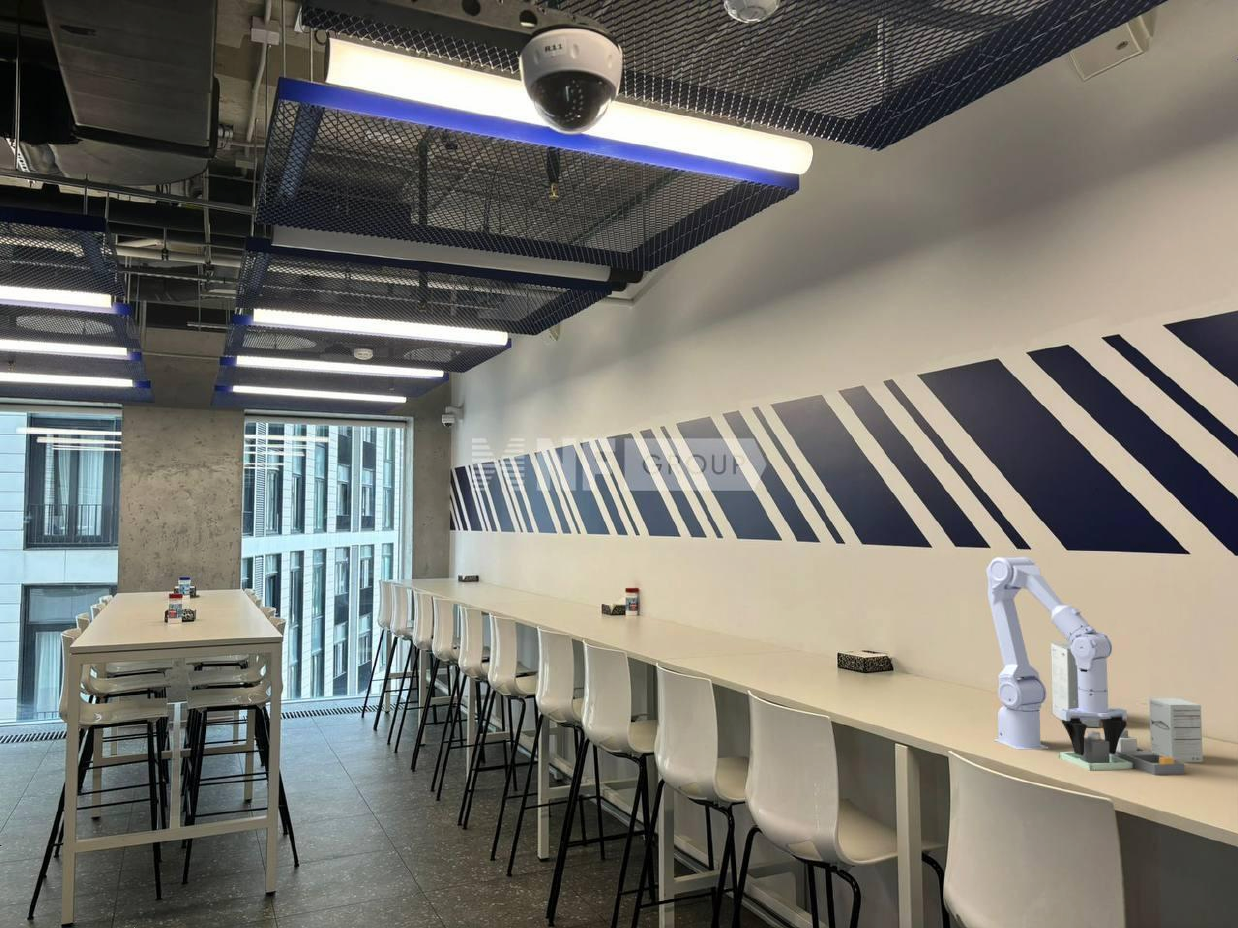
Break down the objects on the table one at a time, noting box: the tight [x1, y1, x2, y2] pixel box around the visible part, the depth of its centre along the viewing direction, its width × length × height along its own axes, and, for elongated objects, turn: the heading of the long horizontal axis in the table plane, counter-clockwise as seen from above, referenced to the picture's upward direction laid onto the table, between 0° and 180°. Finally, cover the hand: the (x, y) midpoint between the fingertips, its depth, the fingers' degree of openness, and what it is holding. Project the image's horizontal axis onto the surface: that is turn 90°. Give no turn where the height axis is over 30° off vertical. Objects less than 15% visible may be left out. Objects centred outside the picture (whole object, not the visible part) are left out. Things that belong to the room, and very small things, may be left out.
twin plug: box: [1116, 728, 1138, 752], centre depth 196 cm, size 4×4×6 cm
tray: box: [1058, 751, 1134, 771], centre depth 191 cm, size 10×10×2 cm
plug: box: [1080, 730, 1110, 764], centre depth 191 cm, size 4×4×6 cm
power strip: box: [1109, 747, 1186, 776], centre depth 191 cm, size 18×7×4 cm, turn 9°
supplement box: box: [1148, 697, 1204, 763], centre depth 198 cm, size 7×7×13 cm
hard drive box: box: [1050, 641, 1100, 728], centre depth 235 cm, size 16×8×20 cm, turn 168°
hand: (1094, 753), depth 191 cm, fingers open, 7 cm apart
